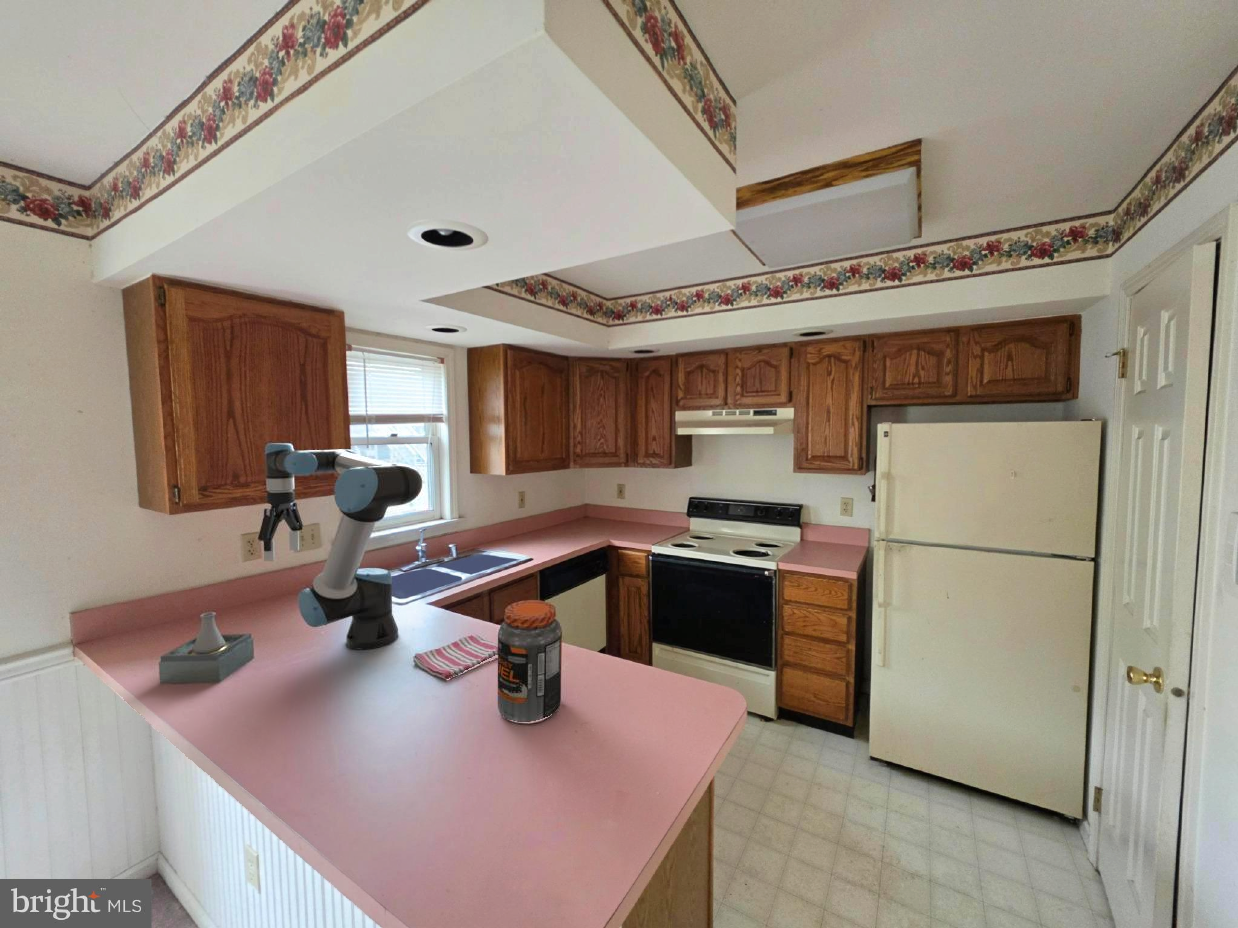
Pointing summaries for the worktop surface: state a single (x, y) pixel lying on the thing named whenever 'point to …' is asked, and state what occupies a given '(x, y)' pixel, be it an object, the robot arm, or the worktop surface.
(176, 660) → the grey boxy piece
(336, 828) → the worktop surface
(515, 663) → the supplement tub
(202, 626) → the flask
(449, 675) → the dish towel
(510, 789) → the worktop surface
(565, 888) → the worktop surface
